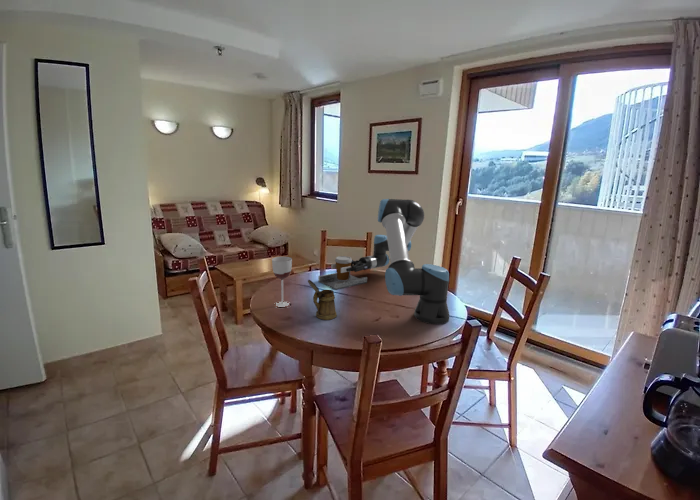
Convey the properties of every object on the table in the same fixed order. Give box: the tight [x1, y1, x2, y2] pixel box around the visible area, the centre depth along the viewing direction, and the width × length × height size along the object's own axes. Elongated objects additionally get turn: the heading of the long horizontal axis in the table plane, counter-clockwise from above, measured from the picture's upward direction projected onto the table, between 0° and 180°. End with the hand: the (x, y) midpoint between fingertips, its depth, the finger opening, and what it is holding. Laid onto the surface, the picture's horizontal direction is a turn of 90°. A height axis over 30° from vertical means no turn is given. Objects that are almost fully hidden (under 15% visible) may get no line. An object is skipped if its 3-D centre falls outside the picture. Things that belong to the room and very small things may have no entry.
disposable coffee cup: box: [334, 255, 353, 280], centre depth 203 cm, size 10×10×12 cm
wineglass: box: [271, 256, 293, 307], centre depth 167 cm, size 9×10×22 cm
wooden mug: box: [307, 279, 338, 321], centre depth 155 cm, size 9×14×18 cm, turn 124°
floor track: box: [317, 272, 368, 291], centre depth 204 cm, size 22×16×3 cm
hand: (336, 268), depth 200 cm, fingers closed on disposable coffee cup, 8 cm apart
